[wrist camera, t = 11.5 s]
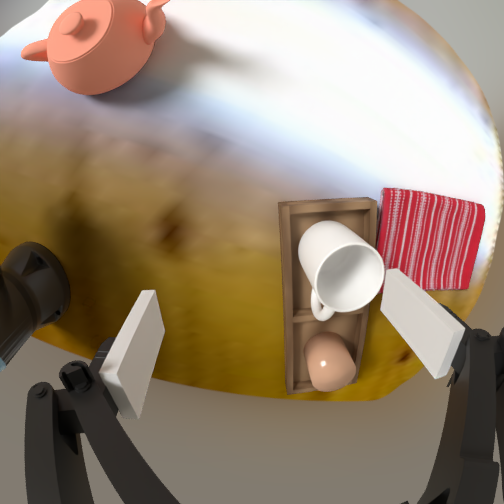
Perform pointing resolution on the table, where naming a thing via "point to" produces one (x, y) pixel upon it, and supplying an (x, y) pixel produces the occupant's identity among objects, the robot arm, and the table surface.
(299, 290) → the caddy
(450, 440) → the robot arm
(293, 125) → the table surface
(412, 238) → the dish towel
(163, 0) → the teapot
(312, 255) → the mug
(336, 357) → the peach rounded cylinder
